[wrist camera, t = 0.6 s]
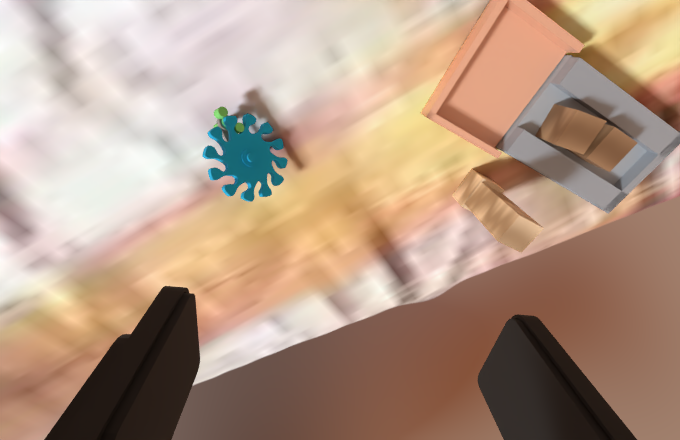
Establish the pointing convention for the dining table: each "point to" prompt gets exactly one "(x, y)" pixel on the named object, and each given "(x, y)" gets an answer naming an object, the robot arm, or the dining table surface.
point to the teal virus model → (244, 154)
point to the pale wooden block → (496, 211)
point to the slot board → (600, 101)
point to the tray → (498, 72)
